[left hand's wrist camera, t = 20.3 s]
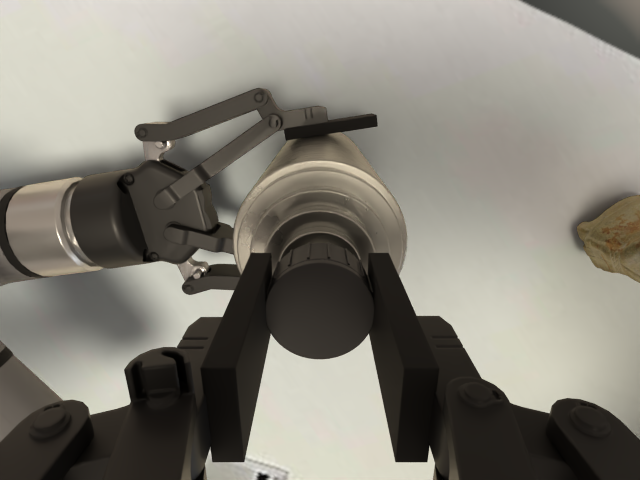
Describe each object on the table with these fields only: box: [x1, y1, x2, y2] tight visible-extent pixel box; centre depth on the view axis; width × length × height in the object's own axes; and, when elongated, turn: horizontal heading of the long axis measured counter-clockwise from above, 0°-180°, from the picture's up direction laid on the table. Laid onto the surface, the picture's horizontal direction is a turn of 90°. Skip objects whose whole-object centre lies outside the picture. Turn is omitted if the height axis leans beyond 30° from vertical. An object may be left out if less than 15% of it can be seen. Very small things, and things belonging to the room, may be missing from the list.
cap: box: [265, 242, 374, 359], centre depth 14 cm, size 4×4×2 cm
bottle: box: [233, 132, 407, 276], centre depth 25 cm, size 8×8×24 cm
